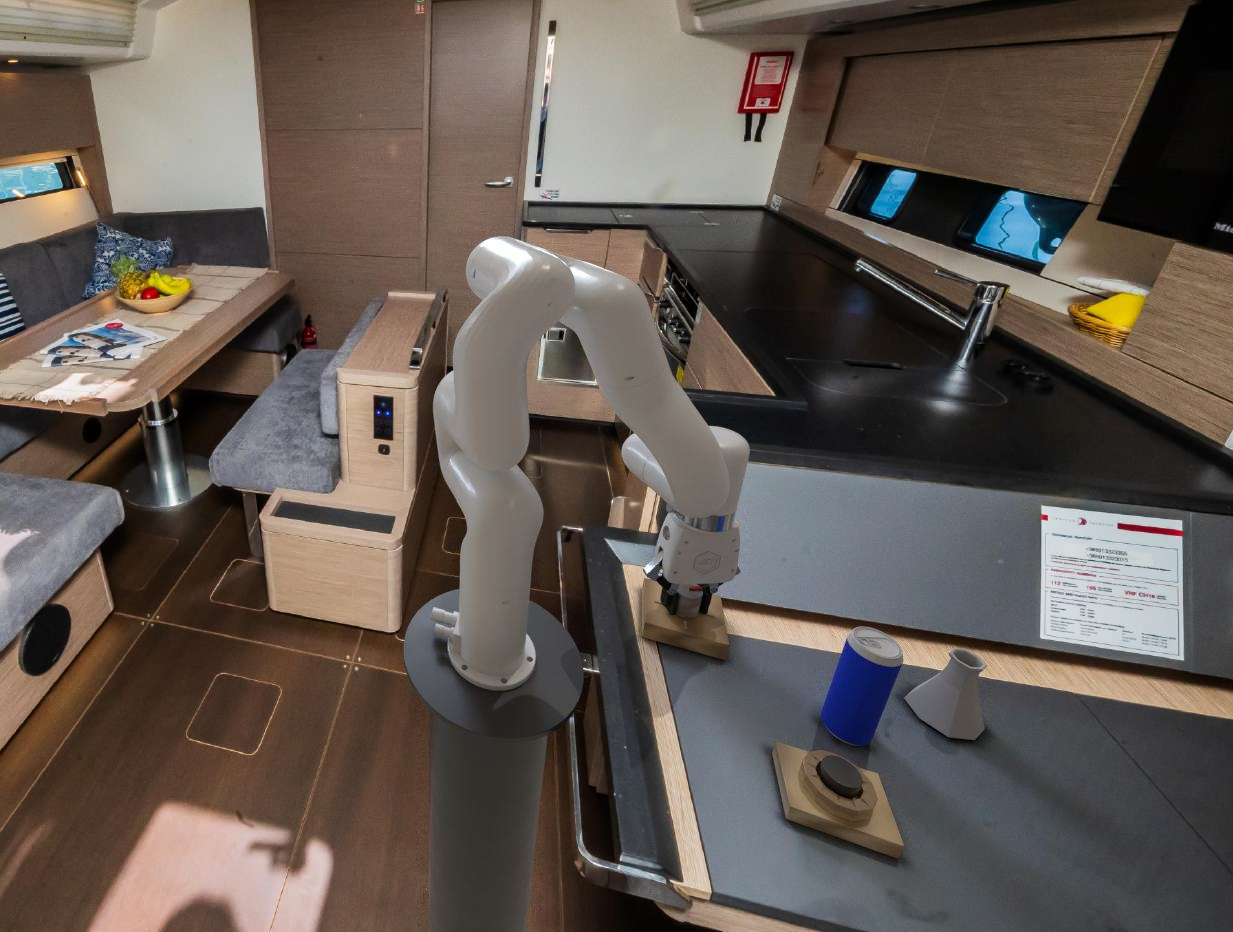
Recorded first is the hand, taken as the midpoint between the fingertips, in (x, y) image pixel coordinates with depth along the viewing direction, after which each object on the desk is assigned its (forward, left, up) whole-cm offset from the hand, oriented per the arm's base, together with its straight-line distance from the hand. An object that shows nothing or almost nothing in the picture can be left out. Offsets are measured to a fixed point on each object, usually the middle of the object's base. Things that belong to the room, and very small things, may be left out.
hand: (683, 606), depth 91 cm
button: (+14, -22, 0) cm, 26 cm away
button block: (+14, -22, -3) cm, 26 cm away
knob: (0, 0, 0) cm, 0 cm away
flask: (+30, -4, -4) cm, 30 cm away
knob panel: (0, 0, -3) cm, 3 cm away
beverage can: (+18, -11, -4) cm, 21 cm away
